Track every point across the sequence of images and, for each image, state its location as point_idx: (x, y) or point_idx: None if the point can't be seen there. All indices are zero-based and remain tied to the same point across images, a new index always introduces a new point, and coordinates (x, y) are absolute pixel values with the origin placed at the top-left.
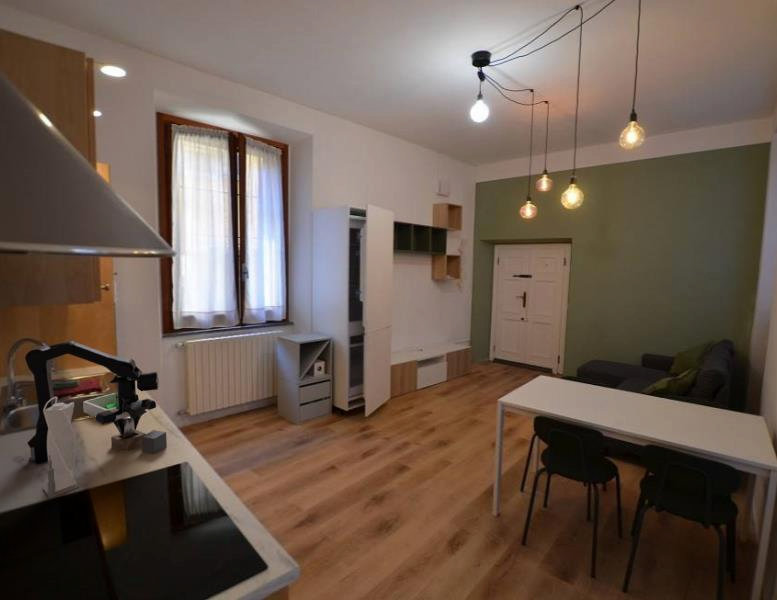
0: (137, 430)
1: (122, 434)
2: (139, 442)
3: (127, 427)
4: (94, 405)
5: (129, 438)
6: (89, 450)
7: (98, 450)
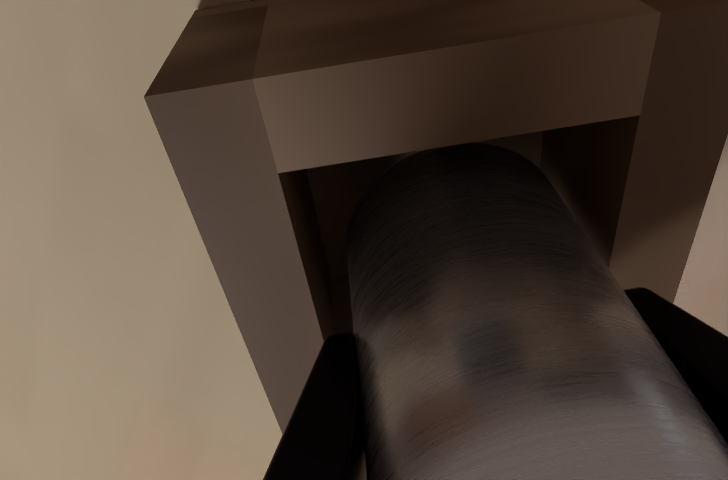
0: (253, 362)
1: (649, 290)
2: (324, 11)
3: (678, 406)
4: None
5: (548, 111)
6: (724, 332)
7: (695, 279)
